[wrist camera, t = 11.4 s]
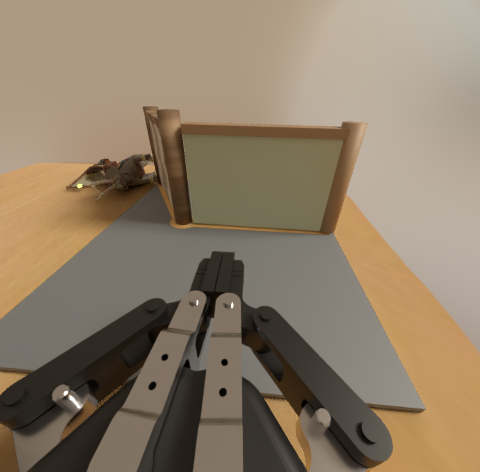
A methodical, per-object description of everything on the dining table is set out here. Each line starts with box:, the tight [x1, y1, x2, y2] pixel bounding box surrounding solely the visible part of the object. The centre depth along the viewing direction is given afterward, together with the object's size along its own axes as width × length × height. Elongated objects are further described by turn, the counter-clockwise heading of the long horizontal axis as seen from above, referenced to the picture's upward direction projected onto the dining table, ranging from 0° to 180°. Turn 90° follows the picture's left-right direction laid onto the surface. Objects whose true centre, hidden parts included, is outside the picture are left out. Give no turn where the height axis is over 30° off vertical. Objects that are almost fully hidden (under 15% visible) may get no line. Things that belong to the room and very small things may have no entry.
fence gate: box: [181, 122, 367, 233], centre depth 26 cm, size 20×2×13 cm, turn 85°
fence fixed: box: [143, 107, 193, 225], centre depth 34 cm, size 20×2×14 cm, turn 25°
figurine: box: [66, 154, 158, 201], centre depth 43 cm, size 20×6×17 cm
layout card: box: [0, 183, 426, 412], centre depth 29 cm, size 31×37×1 cm
